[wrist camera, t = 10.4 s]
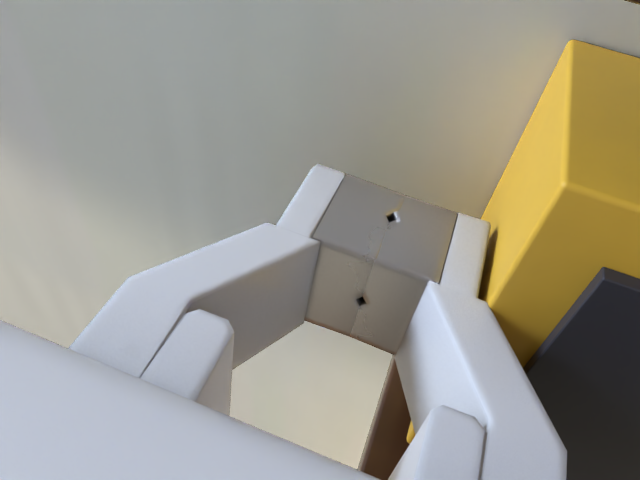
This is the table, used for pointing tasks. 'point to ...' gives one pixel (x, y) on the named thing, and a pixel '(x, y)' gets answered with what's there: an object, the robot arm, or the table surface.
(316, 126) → the table surface
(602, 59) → the yellow box grey face
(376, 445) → the case
